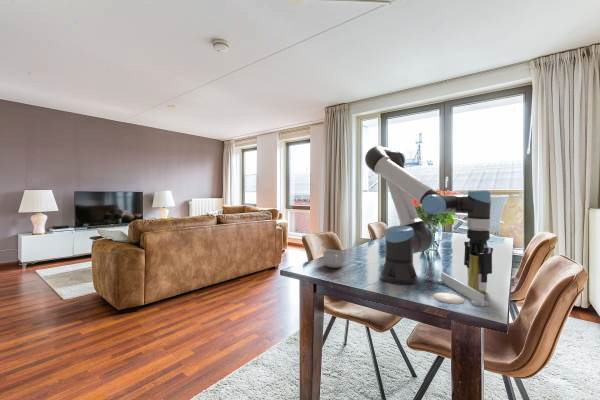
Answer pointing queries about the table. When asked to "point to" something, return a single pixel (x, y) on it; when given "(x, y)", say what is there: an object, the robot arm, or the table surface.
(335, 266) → the teacup
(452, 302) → the coaster
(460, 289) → the acrylic wall
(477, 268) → the vase
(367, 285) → the table surface
